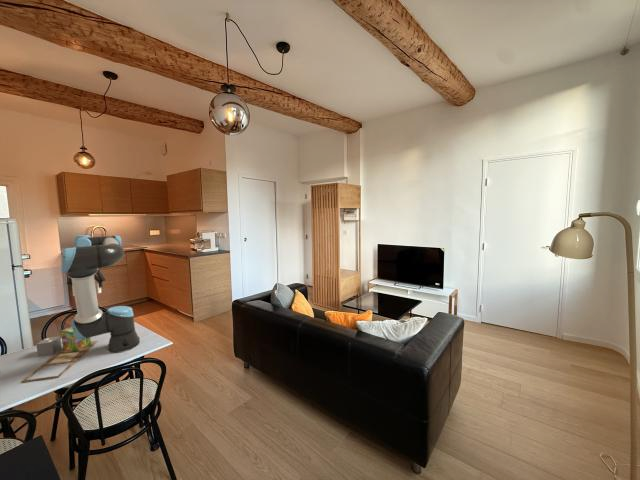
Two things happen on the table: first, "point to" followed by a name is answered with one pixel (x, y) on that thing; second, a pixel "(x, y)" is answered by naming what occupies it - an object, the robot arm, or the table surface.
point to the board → (62, 361)
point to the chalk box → (73, 340)
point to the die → (49, 346)
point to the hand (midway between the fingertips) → (87, 294)
